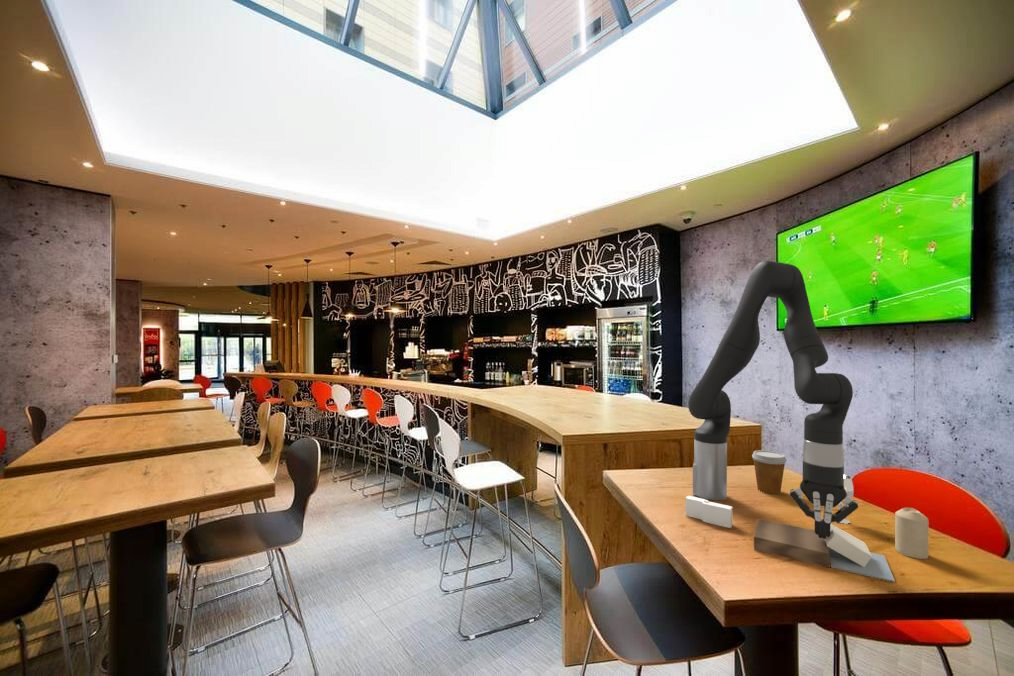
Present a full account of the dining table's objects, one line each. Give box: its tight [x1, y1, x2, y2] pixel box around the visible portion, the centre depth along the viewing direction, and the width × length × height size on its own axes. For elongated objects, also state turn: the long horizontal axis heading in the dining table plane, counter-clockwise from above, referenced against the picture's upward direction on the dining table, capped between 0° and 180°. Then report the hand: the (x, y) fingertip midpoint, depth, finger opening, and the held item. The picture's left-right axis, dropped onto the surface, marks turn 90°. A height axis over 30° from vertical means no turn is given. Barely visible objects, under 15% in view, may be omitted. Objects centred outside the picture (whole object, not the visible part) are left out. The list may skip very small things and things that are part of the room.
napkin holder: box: [685, 495, 733, 529], centre depth 115 cm, size 15×11×6 cm
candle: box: [894, 507, 930, 560], centre depth 97 cm, size 6×6×10 cm
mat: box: [828, 547, 896, 583], centre depth 93 cm, size 10×12×1 cm
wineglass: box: [837, 474, 855, 525], centre depth 114 cm, size 6×6×12 cm
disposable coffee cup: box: [751, 449, 787, 495], centre depth 136 cm, size 10×10×12 cm
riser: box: [753, 518, 831, 569], centre depth 99 cm, size 14×12×3 cm
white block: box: [825, 523, 872, 567], centre depth 94 cm, size 7×7×3 cm
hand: (822, 537), depth 96 cm, fingers closed
